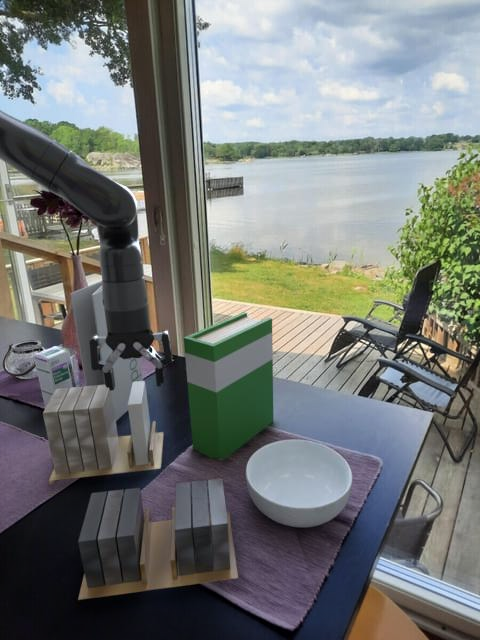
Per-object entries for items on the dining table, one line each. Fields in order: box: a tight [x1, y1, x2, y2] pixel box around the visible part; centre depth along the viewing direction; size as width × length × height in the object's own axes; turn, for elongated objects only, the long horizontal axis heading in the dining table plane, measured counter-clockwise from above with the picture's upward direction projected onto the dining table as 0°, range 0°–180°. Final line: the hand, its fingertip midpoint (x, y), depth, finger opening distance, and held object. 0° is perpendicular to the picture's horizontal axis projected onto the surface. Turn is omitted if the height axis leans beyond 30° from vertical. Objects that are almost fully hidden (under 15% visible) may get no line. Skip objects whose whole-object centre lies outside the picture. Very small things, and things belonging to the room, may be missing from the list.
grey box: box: [69, 280, 144, 422], centre depth 100 cm, size 14×6×30 cm, turn 161°
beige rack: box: [42, 385, 165, 486], centre depth 84 cm, size 20×12×14 cm, turn 97°
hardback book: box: [183, 311, 274, 460], centre depth 89 cm, size 18×7×24 cm, turn 141°
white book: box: [127, 380, 152, 465], centre depth 85 cm, size 2×9×13 cm, turn 7°
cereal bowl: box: [245, 439, 353, 528], centre depth 72 cm, size 17×17×7 cm
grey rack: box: [77, 478, 239, 601], centre depth 63 cm, size 21×12×9 cm, turn 97°
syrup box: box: [33, 345, 77, 409], centre depth 104 cm, size 6×6×14 cm
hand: (135, 386), depth 82 cm, fingers open, 8 cm apart
